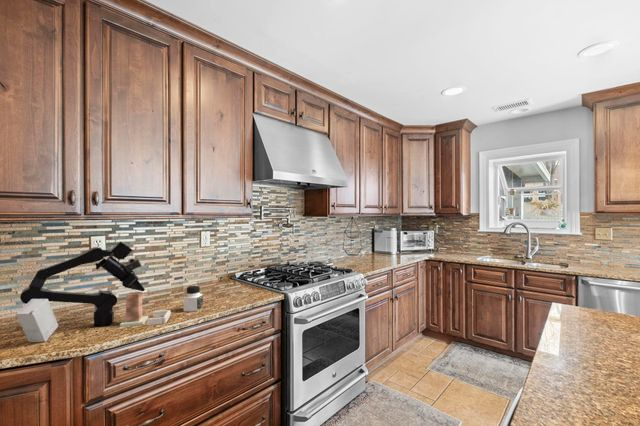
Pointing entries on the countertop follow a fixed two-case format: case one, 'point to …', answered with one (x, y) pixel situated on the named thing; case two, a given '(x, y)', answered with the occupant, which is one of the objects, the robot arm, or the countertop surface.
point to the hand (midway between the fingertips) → (142, 288)
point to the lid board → (134, 322)
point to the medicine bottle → (193, 299)
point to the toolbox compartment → (159, 320)
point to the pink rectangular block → (134, 306)
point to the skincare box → (37, 320)
